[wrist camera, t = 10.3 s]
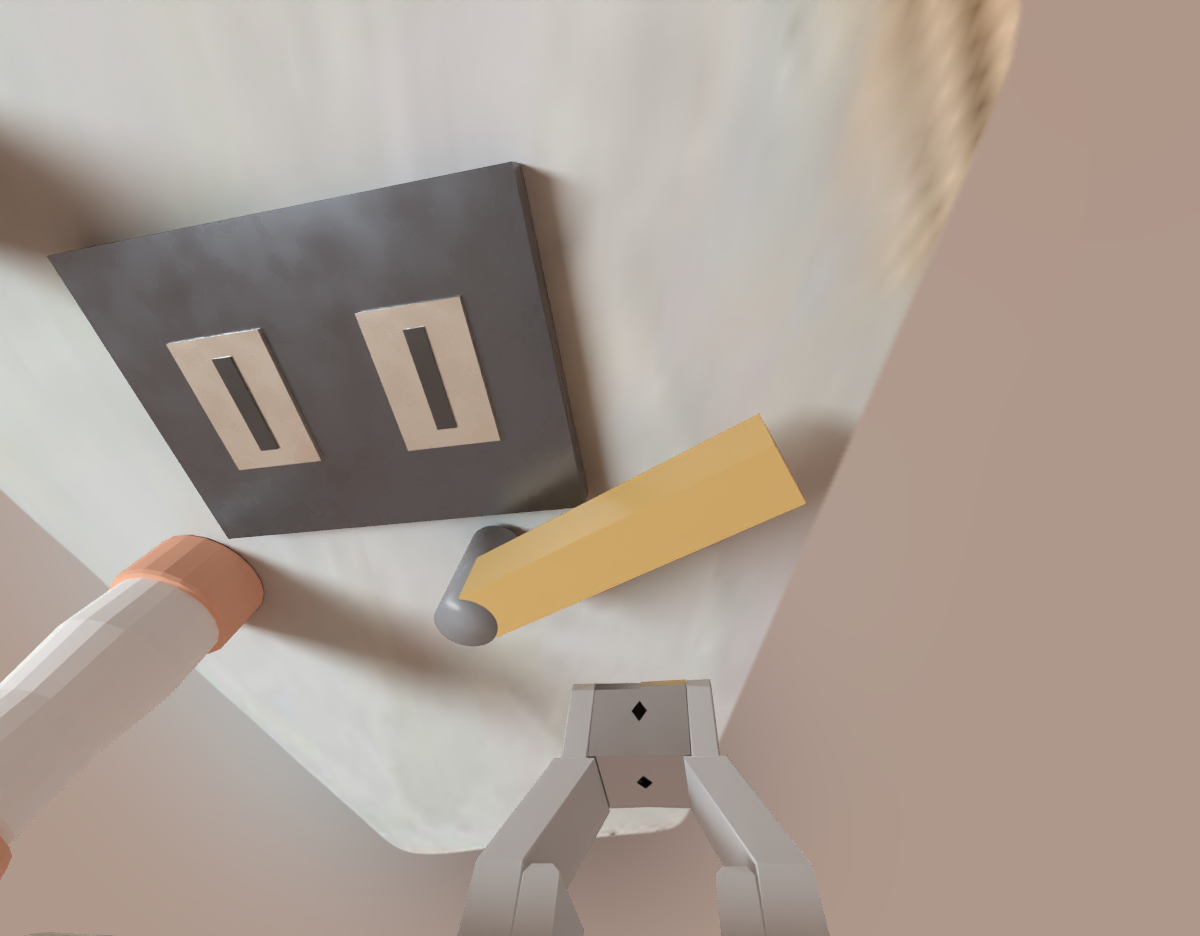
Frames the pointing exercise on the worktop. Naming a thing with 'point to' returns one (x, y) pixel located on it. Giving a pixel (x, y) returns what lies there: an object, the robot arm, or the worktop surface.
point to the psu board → (348, 356)
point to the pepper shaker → (114, 668)
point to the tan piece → (618, 534)
